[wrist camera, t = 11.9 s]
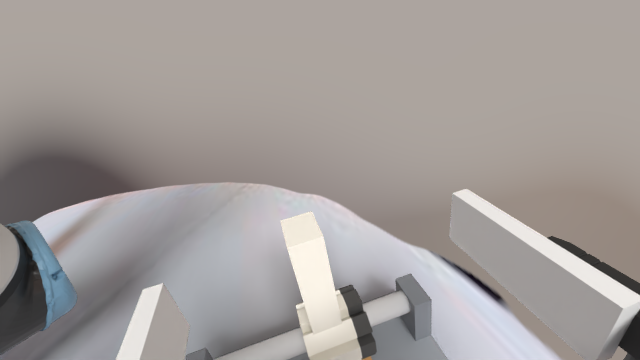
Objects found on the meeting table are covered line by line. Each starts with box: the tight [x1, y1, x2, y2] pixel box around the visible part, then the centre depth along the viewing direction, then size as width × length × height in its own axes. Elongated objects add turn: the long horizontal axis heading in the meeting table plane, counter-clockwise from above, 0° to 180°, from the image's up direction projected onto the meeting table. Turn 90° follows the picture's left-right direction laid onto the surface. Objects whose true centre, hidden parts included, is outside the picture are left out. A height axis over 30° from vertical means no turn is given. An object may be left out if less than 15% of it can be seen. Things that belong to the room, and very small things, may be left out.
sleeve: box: [280, 211, 362, 360], centre depth 28 cm, size 5×7×18 cm
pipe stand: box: [186, 274, 448, 360], centre depth 31 cm, size 26×10×8 cm, turn 105°
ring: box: [338, 285, 377, 359], centre depth 31 cm, size 2×7×7 cm, turn 15°
